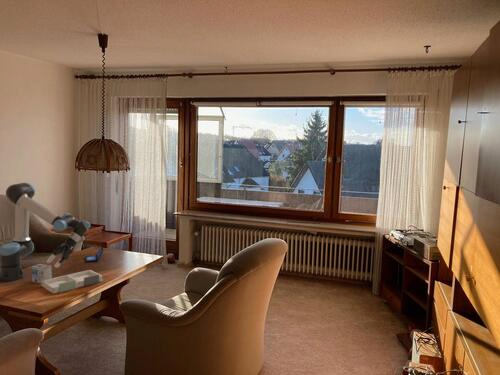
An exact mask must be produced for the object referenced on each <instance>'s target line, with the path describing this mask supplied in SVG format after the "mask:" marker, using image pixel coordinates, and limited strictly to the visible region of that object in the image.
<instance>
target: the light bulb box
mask: <svg viewBox="0 0 500 375" xmlns="http://www.w3.org/2000/svg"><path fill="white" fill-rule="evenodd" d="M52 274H53V273H52V265H50V264H41V263H38V264H36V265H33V266H31V282H32V283H37V284H42V283H41V281H43V280H47V279H51V278H53V277H52Z"/></svg>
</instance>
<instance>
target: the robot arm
mask: <svg viewBox="0 0 500 375" xmlns="http://www.w3.org/2000/svg"><path fill="white" fill-rule="evenodd" d="M35 194H36V189H35V187H34V185H32V184H31V183H29V182H20V183H16V184H15V183H14V184H11V185H10V186H8V187H7V188H6V191H5V196H6V198H7V199H8V201H10V202H11V203H13V205H15V217H14V218H15V222H14V225H15V226H14V232H15V233H14V237H13V239H12V242H9V243H5V244H3V245H2V246H0V280H2V281H1V282H10V281H11V282H12V281H16V280H21V279H22V278H24V277H25V272H24V270H23V267H22V265H21V263H22V262H21V260H22V259H23V258H26V257H28V256H29V255H31V254H32V253H33V252H34V248H35V246H34V242H33V241H32V238H31V237H30V212H31V213H32V214H33V215H35V216H37V217H38V218H40V219H42V220H44V221H45V222H47V223H48V224H50V225H51V226H53V227H52V228H53V229H54V230H55V231H57V232H61V231H64V230H66V229H68V228H70V229H72V231H71V233H70V234H69V235H68V237H66V238H65V240H64V242H65V243H64V242H62V243H61V244H60V245H58V246H57V247H56V248H55V249H52V253H51V255H50V256H49V257H47V260H46V261H45V262H46V263H47V264H48V265H50V263H51V262H52V261H53V260H54V259H55V257H56V256H57V255H58V254H60V253H62V252H63V253H62V256H61V257H60V258H59V259H58V260H57V261H56V263H55V264H54V265H53V266H54V267H55V268H56V269H58V268H59V267H60V266H61V264H63V262H64V261H66V260H68V258H69V256H70V255H71V253H72V251H73V249H74V247H75V246H76V245H77V243H78V242H80V240H81V239H82V237H84V235H85V234H86V233H87V232H88V231H89V229H90V228H91V223H90V222H88V221H87V220H85V219H82V220H79V219H77V218H76V217H75V216H73V215H72V214H70V212H65V213H64V214H63V215H62V216H60V215H58V214H57V213H56V212H53V211H52V210H50V209H49V208H47V207H45V206H44V205H42V204H41V203H39V202H37V201H36V200H34V199H33V197H34V196H35Z"/></svg>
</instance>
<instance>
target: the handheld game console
mask: <svg viewBox="0 0 500 375" xmlns="http://www.w3.org/2000/svg"><path fill="white" fill-rule="evenodd" d="M103 252H104V247H103V246H101V247H100V248H99V250H98V252H97V253H96V254H95V255H87V256H84V257H85V263H87V264H88V263H98V262H99V259H100V258H101V255H102V254H103Z"/></svg>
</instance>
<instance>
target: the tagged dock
mask: <svg viewBox="0 0 500 375" xmlns="http://www.w3.org/2000/svg"><path fill="white" fill-rule="evenodd" d="M101 282H104V275H102V274H100V273H98V272H95V271H94V270H92V269H88V270H87V269H86V270H83V271H78V272H74V273H70V274H65V275H60V276H57V277H52V278H51V279H47V280H43V281H41V283H40V284H41V287H43V288H44V289H46V290H47V291H49V292H50V293H52V294H58V293H64V292H66V291H67V292H68V291H72V290H75V289H77V288H81V287H87V286H91V285H95V284H98V283H101Z"/></svg>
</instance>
